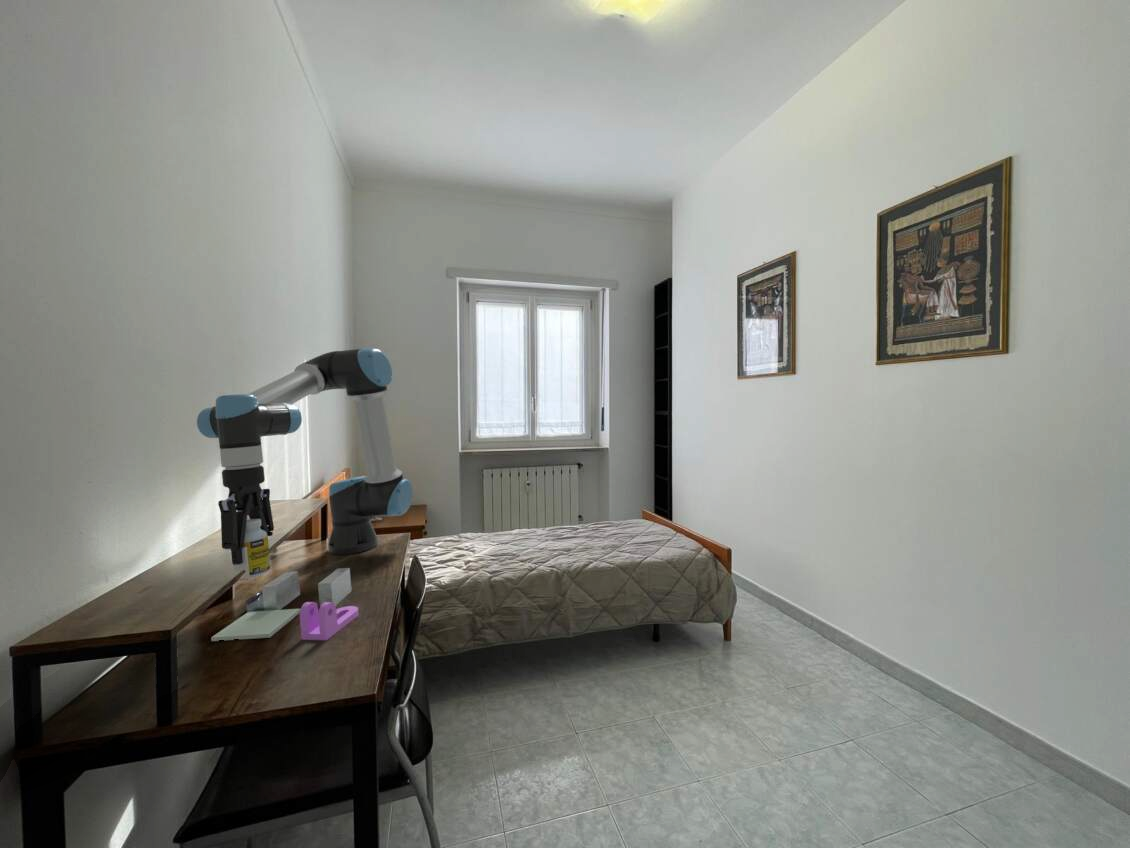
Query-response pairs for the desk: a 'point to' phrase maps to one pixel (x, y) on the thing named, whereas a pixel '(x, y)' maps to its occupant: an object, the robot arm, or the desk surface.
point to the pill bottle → (256, 548)
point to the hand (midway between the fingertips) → (253, 572)
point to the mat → (256, 625)
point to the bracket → (324, 620)
